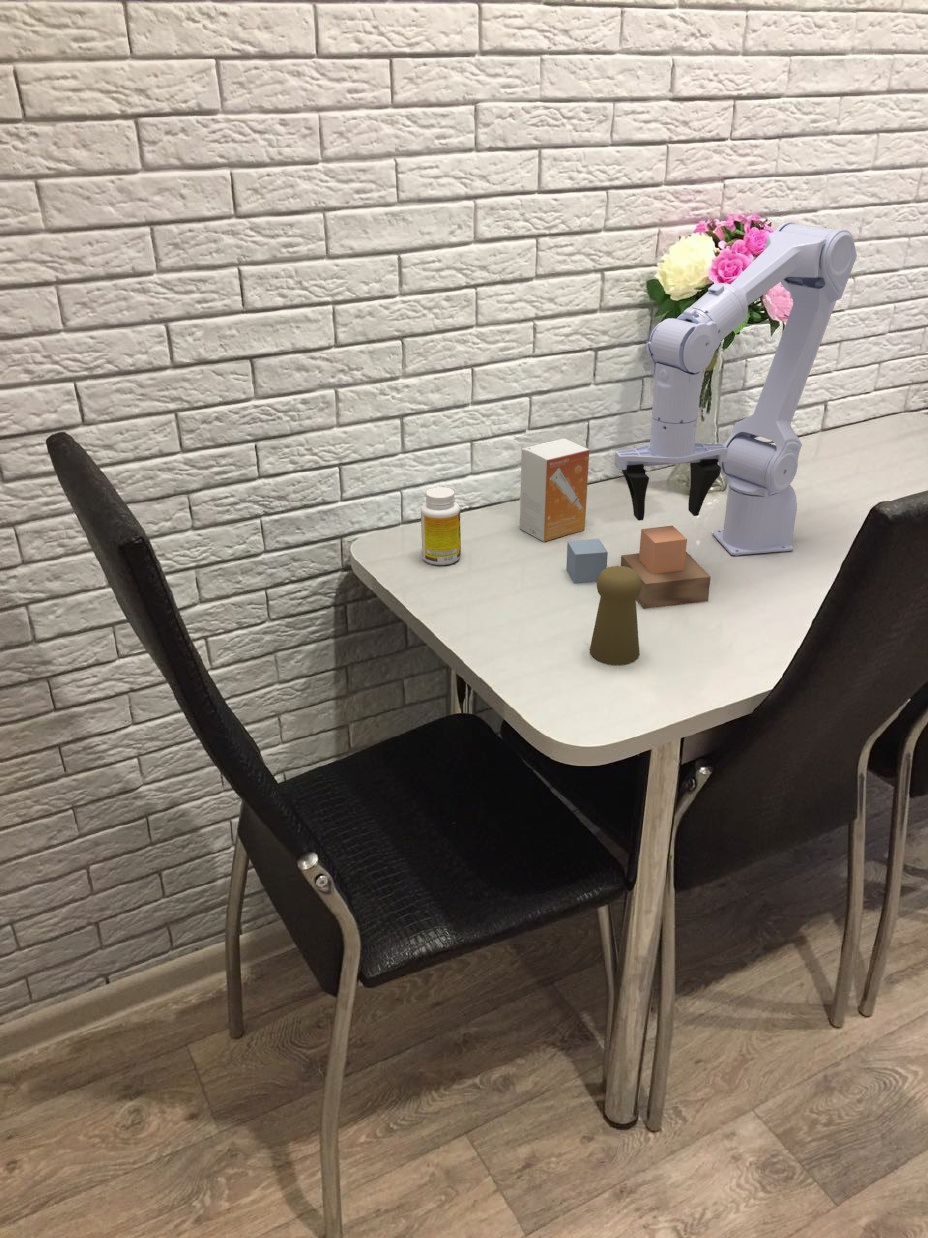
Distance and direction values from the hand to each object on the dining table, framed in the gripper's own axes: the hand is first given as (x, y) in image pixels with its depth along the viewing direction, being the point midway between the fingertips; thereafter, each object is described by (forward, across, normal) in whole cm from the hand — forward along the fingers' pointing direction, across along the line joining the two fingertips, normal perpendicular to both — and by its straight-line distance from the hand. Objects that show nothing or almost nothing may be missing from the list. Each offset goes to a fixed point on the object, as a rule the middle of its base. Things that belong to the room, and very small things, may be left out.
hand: (666, 515), depth 138 cm
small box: (+10, +11, -19) cm, 24 cm away
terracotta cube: (+6, +1, +3) cm, 7 cm away
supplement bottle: (+10, +29, -12) cm, 33 cm away
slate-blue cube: (+9, +10, -3) cm, 14 cm away
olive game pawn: (+10, +12, +18) cm, 24 cm away
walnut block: (+10, +1, +4) cm, 10 cm away
